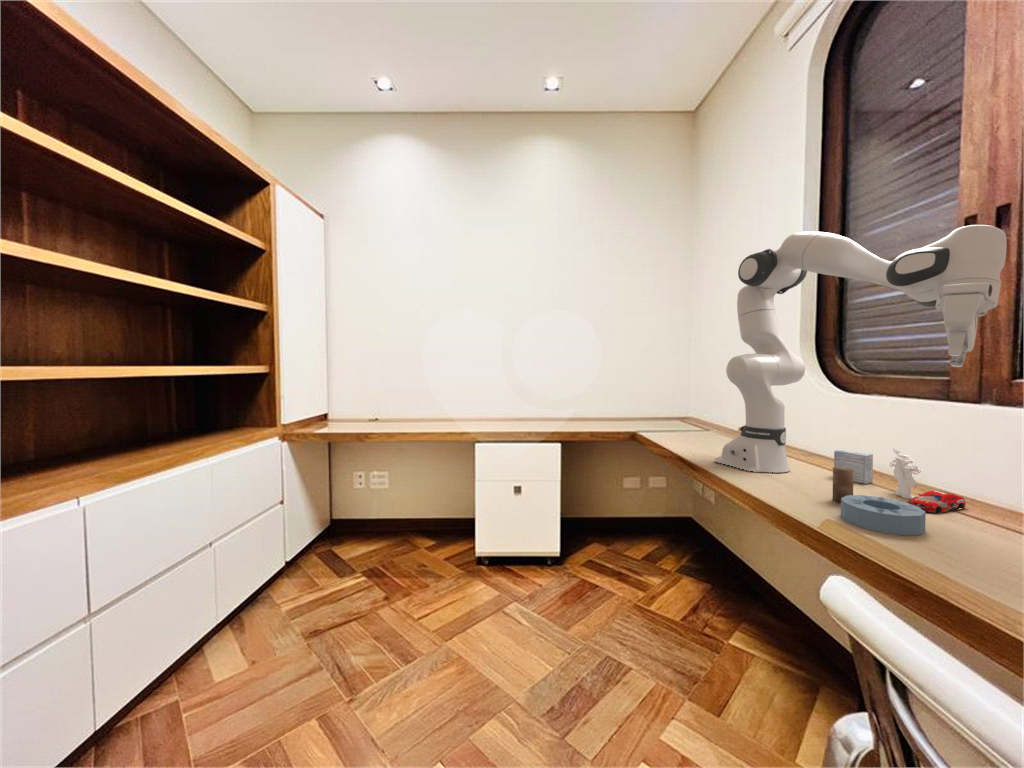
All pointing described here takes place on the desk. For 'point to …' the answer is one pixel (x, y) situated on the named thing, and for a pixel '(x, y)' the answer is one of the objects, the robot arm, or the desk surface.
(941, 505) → the race car
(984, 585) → the desk surface
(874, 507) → the bead
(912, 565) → the desk surface
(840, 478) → the dowel
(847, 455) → the grey ridged block
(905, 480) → the white figurine
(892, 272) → the robot arm
